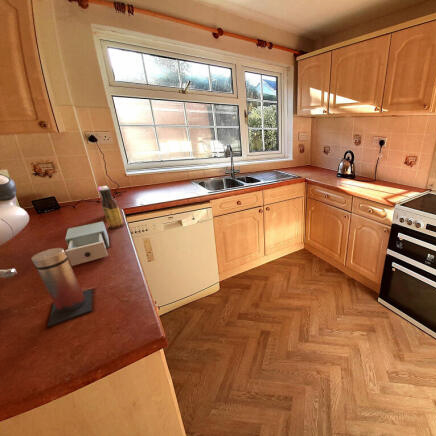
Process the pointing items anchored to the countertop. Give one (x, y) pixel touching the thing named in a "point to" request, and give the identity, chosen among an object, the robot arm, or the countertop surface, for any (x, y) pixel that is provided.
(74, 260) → the drawer
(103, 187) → the candy bar box
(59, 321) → the mat
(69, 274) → the metal canister
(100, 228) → the cabinet
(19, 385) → the countertop surface
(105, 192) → the sauce bottle
